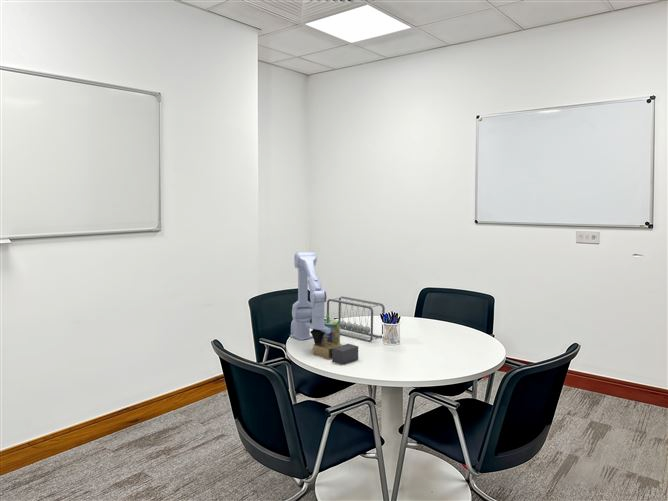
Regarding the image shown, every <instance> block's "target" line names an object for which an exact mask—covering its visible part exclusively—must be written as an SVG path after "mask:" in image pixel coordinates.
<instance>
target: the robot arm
mask: <svg viewBox="0 0 668 501" xmlns="http://www.w3.org/2000/svg"><path fill="white" fill-rule="evenodd" d="M317 258H318V256H317V253H316V252H315V251H311V252H310V251H305V252H303V251H302V252H300V251H299V252H297V251H296V252H295V253H294V258H293V259H294V261H293V262H294V263H293V264H294V268H296V269H297V290H298V291H297V292H298V293H297V300H296V302H294V303H293V304H292V307H291V308H292V309H291V316H292V321H291V324H290V335H289V337H291V338H292V339H293V338H294V339H297V340H301V341H304V340H308V339H312V338H313V341H314V342H313V343H314V344H317V343H321V341H322V338H323V336H324V334H325V332H326V333H327V334H328V333H331V329H330V328H328V327H326V326H324V320H325V303H327V291H326V290H325V288H324V287H322V283H321V279H320V277H318V276H317V273H316V264H317V262H318V261H317V260H318V259H317ZM308 289H309V291H308ZM308 293H309V294H308ZM308 295H309V296H308ZM308 297H309V298H308ZM308 299H310V300H308ZM310 329H311V330H310Z"/></svg>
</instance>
